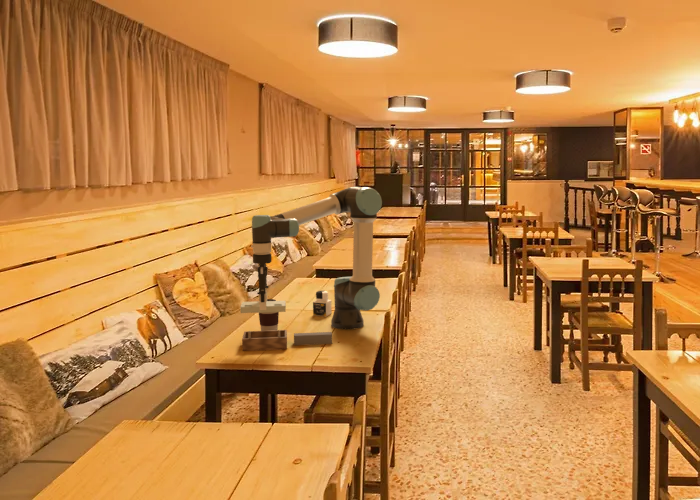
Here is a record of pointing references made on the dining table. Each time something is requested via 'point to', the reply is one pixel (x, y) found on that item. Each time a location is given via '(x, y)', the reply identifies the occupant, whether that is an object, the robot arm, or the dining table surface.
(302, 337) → the block
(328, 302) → the medicine bottle
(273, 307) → the door
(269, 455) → the dining table surface
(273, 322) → the coffee cup
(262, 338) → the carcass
